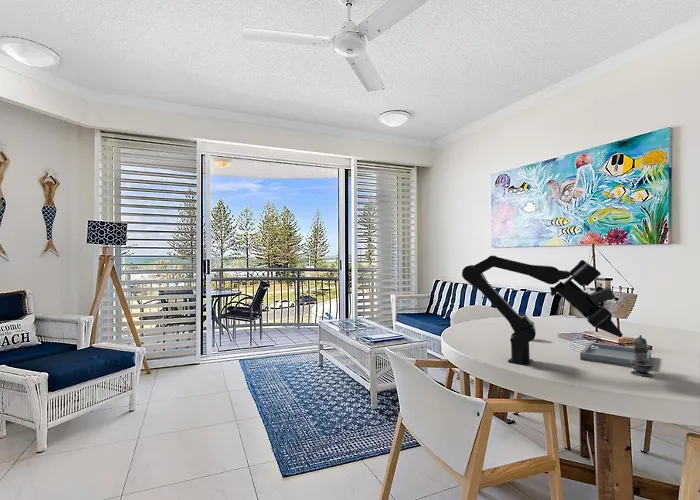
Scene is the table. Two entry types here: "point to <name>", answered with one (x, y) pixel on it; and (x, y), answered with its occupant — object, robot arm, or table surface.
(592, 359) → the tray
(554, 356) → the table surface
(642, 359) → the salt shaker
